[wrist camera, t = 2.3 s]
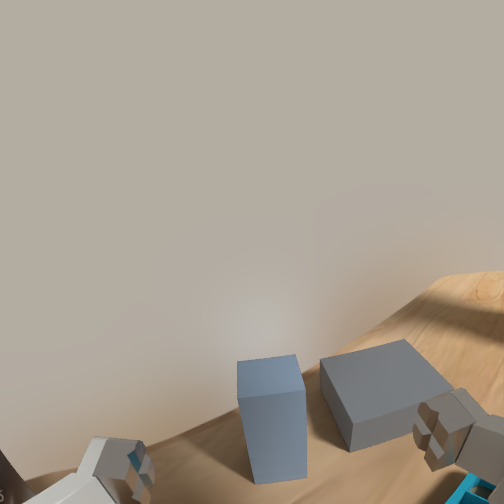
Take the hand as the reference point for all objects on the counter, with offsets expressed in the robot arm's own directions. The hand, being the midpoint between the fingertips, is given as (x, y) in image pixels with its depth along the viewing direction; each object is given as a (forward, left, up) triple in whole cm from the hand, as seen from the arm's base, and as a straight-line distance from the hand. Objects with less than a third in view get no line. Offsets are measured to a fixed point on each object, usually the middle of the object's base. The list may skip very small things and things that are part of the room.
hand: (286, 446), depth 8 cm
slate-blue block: (0, -15, -20) cm, 25 cm away
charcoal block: (-13, -21, -20) cm, 32 cm away
